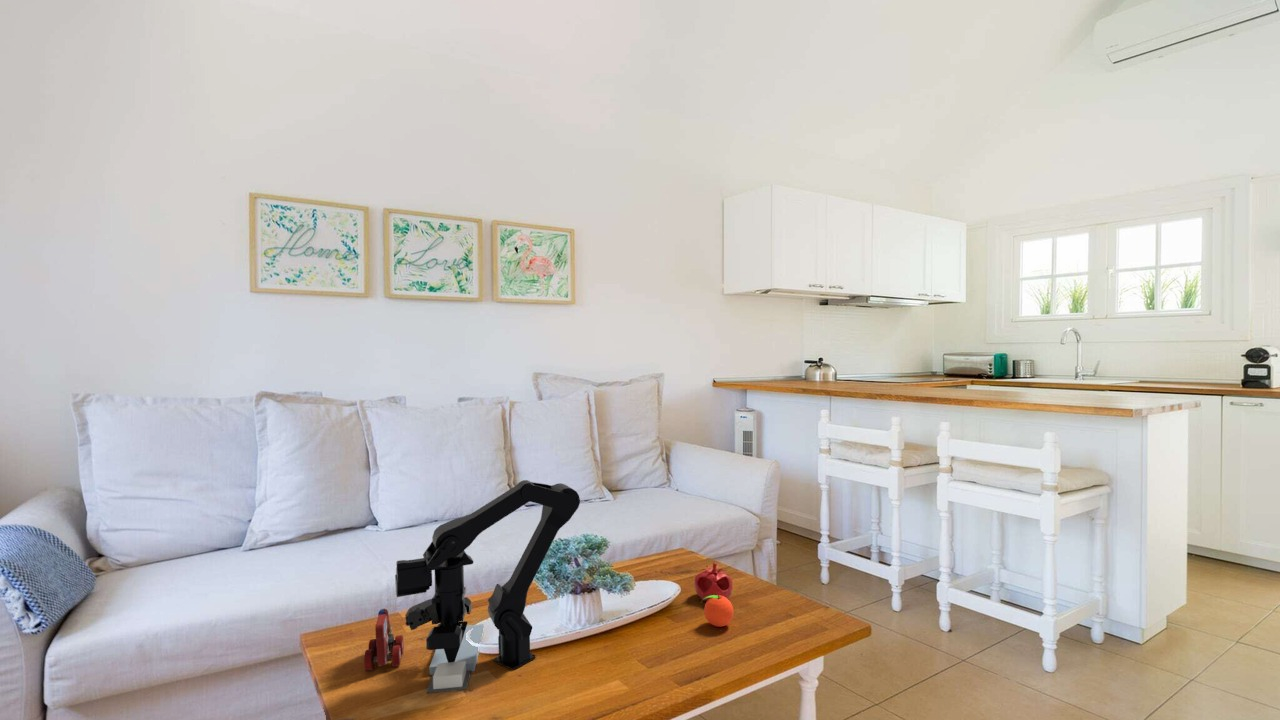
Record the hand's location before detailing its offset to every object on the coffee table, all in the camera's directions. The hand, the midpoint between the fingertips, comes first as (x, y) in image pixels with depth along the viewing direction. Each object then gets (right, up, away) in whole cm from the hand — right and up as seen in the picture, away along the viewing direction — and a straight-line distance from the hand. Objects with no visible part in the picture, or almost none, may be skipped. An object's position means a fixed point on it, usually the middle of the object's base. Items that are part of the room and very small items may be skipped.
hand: (451, 663), depth 130 cm
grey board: (-1, -2, +10) cm, 10 cm away
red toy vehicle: (-16, -3, +6) cm, 18 cm away
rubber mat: (+1, -2, -3) cm, 4 cm away
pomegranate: (+58, -1, +37) cm, 69 cm away
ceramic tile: (+1, -2, -3) cm, 4 cm away
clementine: (+57, -1, +20) cm, 60 cm away
